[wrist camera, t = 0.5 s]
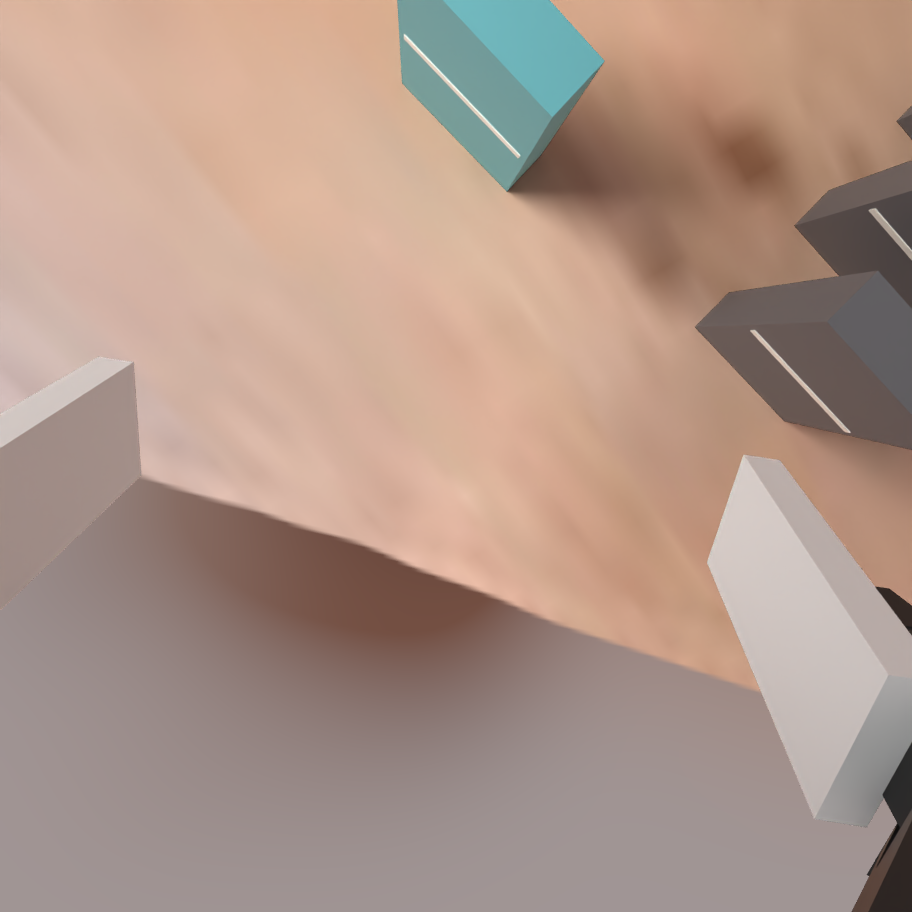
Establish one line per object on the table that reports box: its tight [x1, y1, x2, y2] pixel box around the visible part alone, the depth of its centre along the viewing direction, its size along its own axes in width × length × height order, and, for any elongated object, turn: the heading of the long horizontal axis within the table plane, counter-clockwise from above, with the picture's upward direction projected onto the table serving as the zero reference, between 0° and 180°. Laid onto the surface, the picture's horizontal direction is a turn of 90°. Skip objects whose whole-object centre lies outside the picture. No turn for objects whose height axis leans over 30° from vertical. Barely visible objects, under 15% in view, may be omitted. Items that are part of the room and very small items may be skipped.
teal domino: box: [397, 0, 604, 191], centre depth 29 cm, size 2×7×12 cm, turn 46°
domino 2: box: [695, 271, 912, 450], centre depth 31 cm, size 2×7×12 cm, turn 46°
